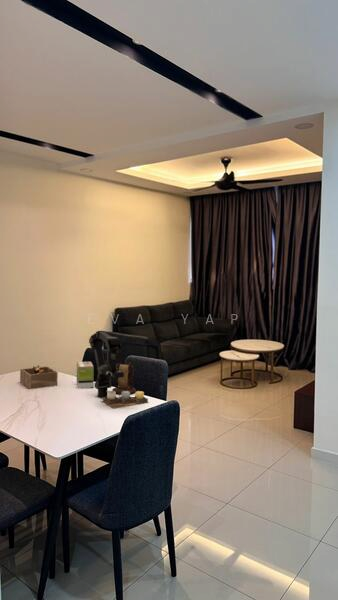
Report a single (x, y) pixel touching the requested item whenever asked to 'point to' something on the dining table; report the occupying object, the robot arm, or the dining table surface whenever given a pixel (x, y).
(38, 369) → the bear figurine
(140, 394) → the mustard button
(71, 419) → the dining table surface
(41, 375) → the box
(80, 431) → the dining table surface
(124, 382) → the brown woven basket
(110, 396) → the cream button
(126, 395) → the slate button
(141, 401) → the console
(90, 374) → the tea box
